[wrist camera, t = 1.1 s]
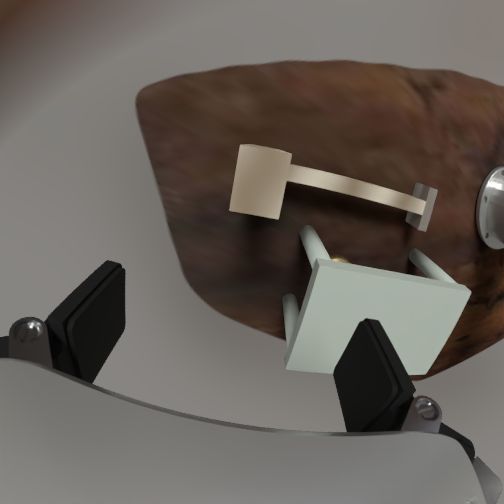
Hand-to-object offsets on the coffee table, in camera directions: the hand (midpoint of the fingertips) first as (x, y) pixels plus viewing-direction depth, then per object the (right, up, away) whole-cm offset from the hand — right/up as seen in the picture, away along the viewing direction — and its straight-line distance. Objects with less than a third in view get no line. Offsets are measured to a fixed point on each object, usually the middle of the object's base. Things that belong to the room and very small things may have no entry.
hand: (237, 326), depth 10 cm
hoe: (+10, +10, +19) cm, 24 cm away
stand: (+13, 0, +23) cm, 27 cm away
